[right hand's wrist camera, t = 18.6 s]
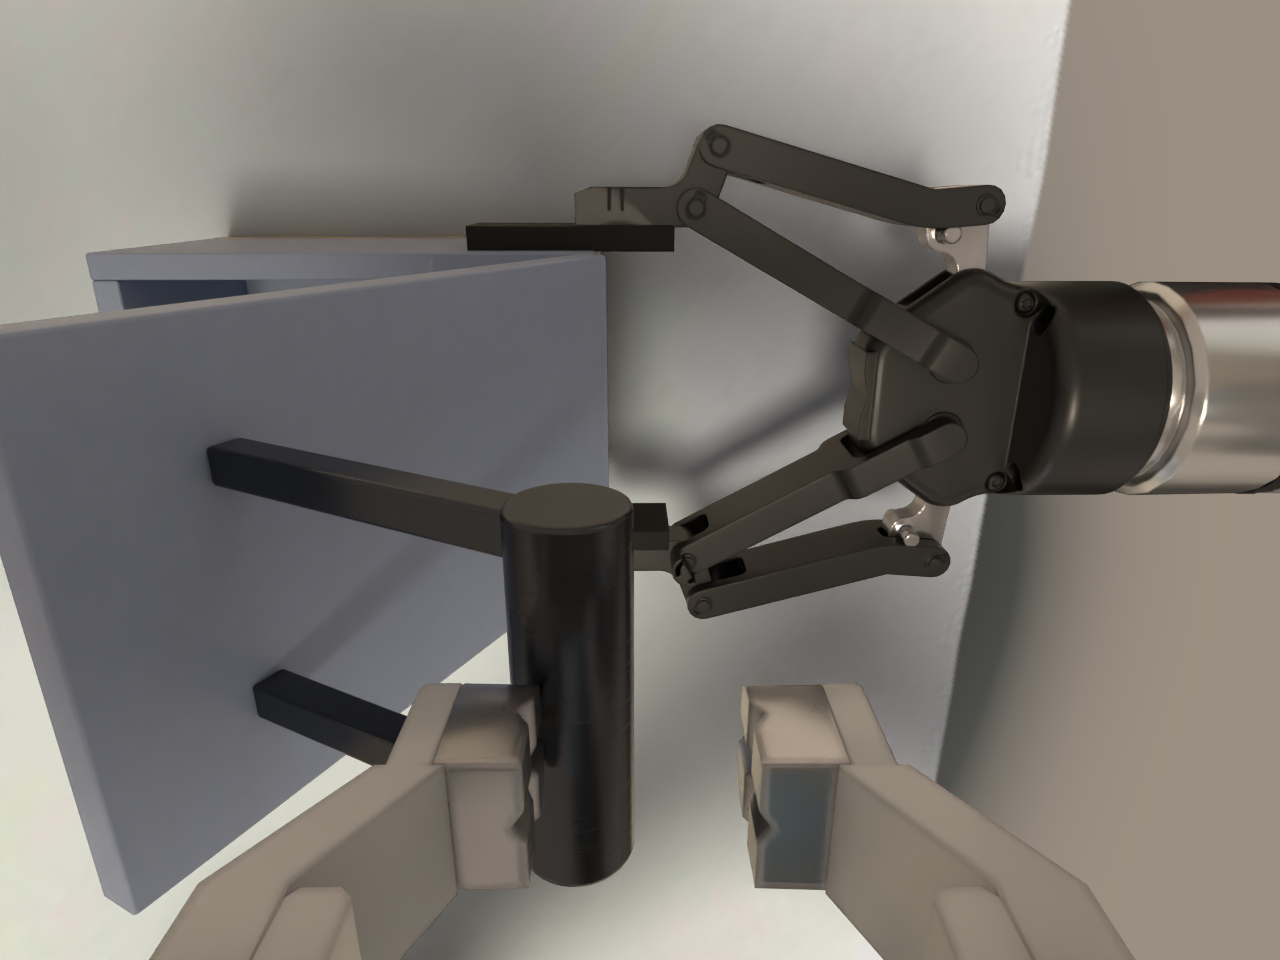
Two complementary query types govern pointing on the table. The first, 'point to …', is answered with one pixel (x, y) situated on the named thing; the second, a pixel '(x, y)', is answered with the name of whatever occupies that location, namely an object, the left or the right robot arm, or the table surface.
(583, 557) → the lid
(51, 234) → the table surface
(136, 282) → the chest
